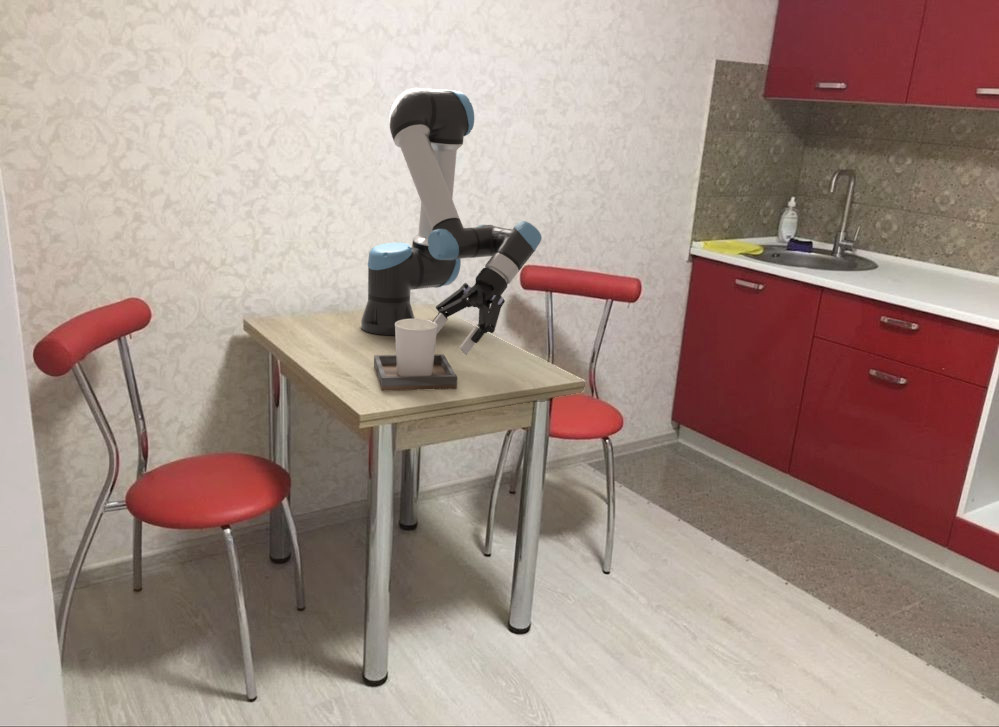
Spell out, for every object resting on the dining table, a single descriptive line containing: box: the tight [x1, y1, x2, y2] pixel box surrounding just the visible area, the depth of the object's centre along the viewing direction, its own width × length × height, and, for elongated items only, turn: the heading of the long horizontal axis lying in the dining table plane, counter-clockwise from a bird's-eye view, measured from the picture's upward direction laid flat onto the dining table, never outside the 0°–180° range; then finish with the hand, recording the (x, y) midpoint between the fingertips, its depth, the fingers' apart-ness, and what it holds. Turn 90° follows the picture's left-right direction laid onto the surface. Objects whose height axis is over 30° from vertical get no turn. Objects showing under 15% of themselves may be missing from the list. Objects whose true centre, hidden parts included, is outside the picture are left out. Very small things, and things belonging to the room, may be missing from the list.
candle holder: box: [394, 318, 438, 376], centre depth 199 cm, size 10×10×12 cm
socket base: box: [373, 353, 458, 392], centre depth 200 cm, size 17×17×3 cm
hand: (444, 344), depth 204 cm, fingers open, 13 cm apart
